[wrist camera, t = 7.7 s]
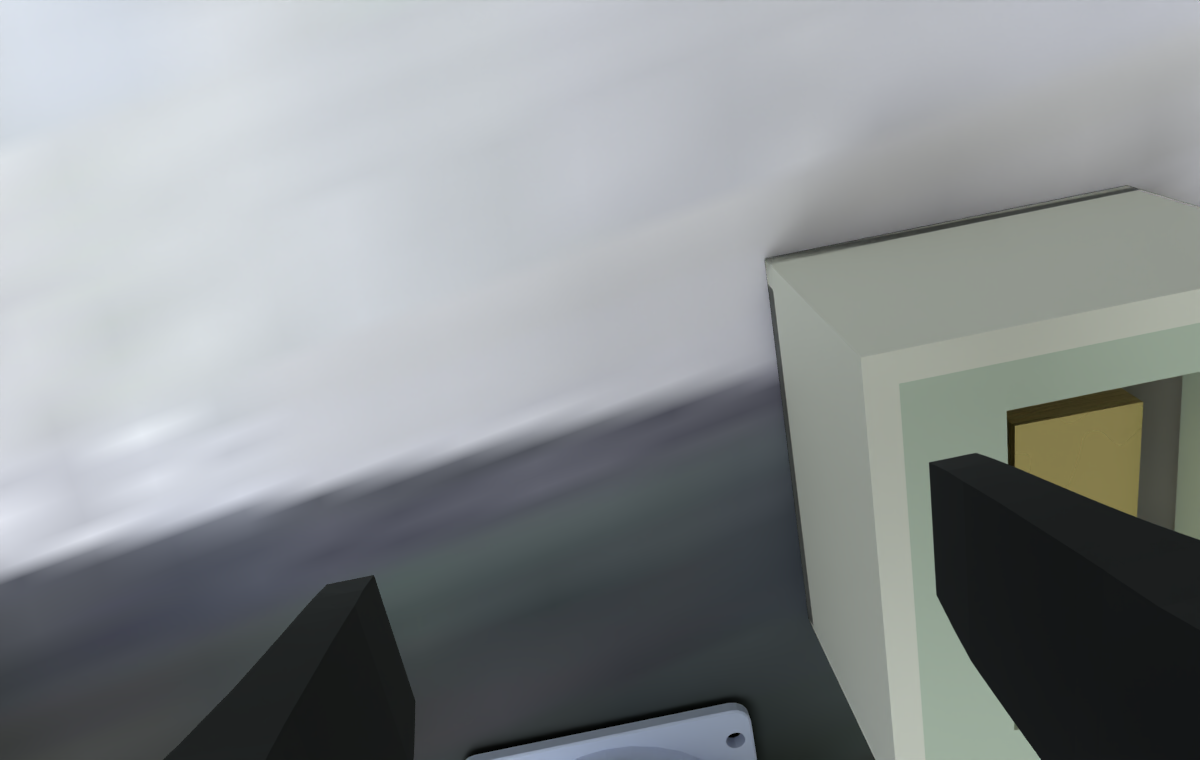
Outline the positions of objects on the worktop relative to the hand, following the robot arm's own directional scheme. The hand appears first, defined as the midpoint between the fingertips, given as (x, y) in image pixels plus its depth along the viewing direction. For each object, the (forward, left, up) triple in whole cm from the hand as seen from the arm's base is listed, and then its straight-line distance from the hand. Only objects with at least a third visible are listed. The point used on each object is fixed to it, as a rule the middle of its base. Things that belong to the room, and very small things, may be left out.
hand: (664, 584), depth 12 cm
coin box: (-4, -8, -10) cm, 14 cm away
